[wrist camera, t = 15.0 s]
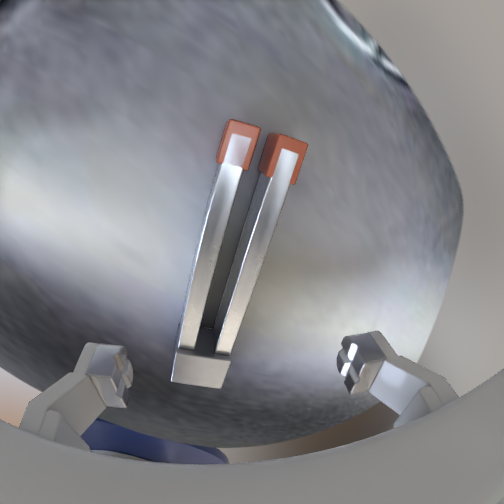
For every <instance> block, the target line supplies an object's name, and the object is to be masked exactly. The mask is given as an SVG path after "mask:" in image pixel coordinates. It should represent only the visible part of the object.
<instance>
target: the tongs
mask: <svg viewBox="0 0 504 504" xmlns="http://www.w3.org/2000/svg"><path fill="white" fill-rule="evenodd" d="M260 131H261V128H260V127H257V126H254V125H251V124H247V123H244V122H240V121H237V120H233V119H230V120H229V121H228V122H227V123H226V126H225V129H224V133H223V136H222V139H221V143H220V146H219V149H218V153H217V156H216V158H217V163H218V167H217V171H216V174H215V178H214V181H213V185H212V189H211V192H210V196H209V200H208V204H207V207H206V211H205V215H204V219H203V223H202V227H201V231H200V235H199V239H198V244H197V248H196V252H195V256H194V261H193V265H192V270H191V274H190V279H189V283H188V288H187V293H186V298H185V302H184V307H183V312H182V318H181V323H179V325H178V331H177V336H176V342H175V348H174V354H173V363H172V373H171V382H176V383H182V384H189V385H196V386H203V387H211V388H222V385H223V382H224V380H225V377H226V375H227V372H228V370H229V367H230V364H231V362H232V358H231V351H232V348H233V346H234V343H235V340H236V337H237V335H238V332H239V329H240V326H241V324H242V321H243V318H244V315H245V313H246V310H247V307H248V304H249V301H250V299H251V296H252V293H253V290H254V287H255V285H256V282H257V279H258V276H259V273H260V271H261V268H262V265H263V262H264V259H265V256H266V253H267V251H268V248H269V245H270V242H271V239H272V236H273V233H274V231H275V228H276V225H277V222H278V219H279V216H280V213H281V210H282V207H283V204H284V201H285V199H286V196H287V193H288V190H289V187H290V184H292V185H294V184H295V183H296V180H297V177H298V174H299V171H300V168H301V165H302V162H303V159H304V156H305V153H306V150H307V147H308V144H307V143H305V142H302V141H300V140H297V139H294V138H291V137H288V136H285V135H282V134H269V135H268V138H267V141H266V144H265V147H264V150H263V154H262V157H261V160H260V163H259V166H258V170H259V171H261V173H260V176H259V179H258V182H257V185H256V189H255V192H254V195H253V198H252V201H251V205H250V208H249V211H248V214H247V217H246V221H245V224H244V227H243V230H242V234H241V237H240V240H239V244H238V247H237V250H236V253H235V257H234V260H233V263H232V267H231V270H230V273H229V277H228V280H227V283H226V287H225V290H224V294H223V297H222V300H221V304H220V307H219V311H218V314H217V317H216V321H215V324H214V328H213V329H211V328H205V327H200V325H201V321H202V317H203V313H204V309H205V305H206V301H207V297H208V293H209V289H210V286H211V282H212V278H213V274H214V271H215V267H216V263H217V260H218V256H219V252H220V249H221V245H222V241H223V238H224V234H225V231H226V227H227V224H228V220H229V217H230V213H231V210H232V206H233V203H234V200H235V196H236V193H237V189H238V186H239V183H240V179H241V176H242V173H243V170H245V171H247V170H248V169H249V166H250V163H251V159H252V156H253V153H254V150H255V147H256V143H257V140H258V137H259V134H260Z"/></svg>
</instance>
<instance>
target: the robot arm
mask: <svg viewBox="0 0 504 504" xmlns="http://www.w3.org/2000/svg"><path fill="white" fill-rule="evenodd" d="M341 344H342V346H343V348H342V349H341V350H340V351H339V352H338V356H337V368H338V371H339V373H340V374H341V375H342V376H344V377H345V381H344V383H345V385H346V387H347V389H348V391H349V393H350V395H351V394H355V393H360V392H364V391H368V392H370V393H371V394H372V395H374V396H375V397H376V398H378V399H379V400H380V401H382V402H383V403H385V404H386V405H387V406H389V407H390V408H391V409H393V410H394V411H395V412H397V413H398V414H399V415H400V416H399V418H398V419H397V420H396V421H395V423H394V425H393V426H394V428H395V429H392V430H390V431H387V432H384V433H381V434H379V435H376V436H373V437H370V438H367V439H364V440H361V441H358V442H354V443H351V444H347V445H343V446H340V447H336V448H332V449H329V450H324V451H320V452H315V453H310V454H305V455H300V456H295V457H289V458H282V459H275V460H268V461H259V462H249V463H235V464H173V463H159V462H151V461H148V460H145V459H142V458H138V457H135V456H131V455H127V454H123V453H118V452H113V451H106V450H90V448H89V446H88V445H87V444H86V442H85V441H84V440H83V439H82V438H81V437H80V436H81V435H82V434H83V433H84V431H85V430H86V429H87V428H88V427H89V426H90V425H91V424H92V423H93V422H94V421H95V419H96V418H97V417H98V416H99V415H100V414H101V413H102V412H103V411H104V410H105V408H106V406H109V407H118V408H127V405H128V400H129V396H130V394H129V392H128V390H127V389H128V388H129V387H130V386H131V385H132V381H133V369H132V365H131V362H130V361H129V360H128V359H126V357H127V354H128V353H127V351H126V348H125V347H124V346H118V345H108V344H97V343H89V342H88V343H87V344H86V345H85V346H84V349H83V351H82V353H81V355H80V358H79V360H78V362H77V364H76V367H75V369H74V371H73V373H68V374H67V375H65V376H64V377H63V378H61V379H60V380H59V381H57V382H56V383H54V384H53V385H52V386H50V387H49V388H48V389H46V390H45V391H44V392H42V393H41V394H39V395H38V396H37V397H35V398H34V399H33V400H31V401H30V402H29V403H28V406H27V408H26V411H25V413H24V416H23V418H22V421H21V423H20V426H19V428H18V427H16V426H13V425H11V424H9V423H6V422H5V421H3V420H0V504H504V369H502V370H501V371H499V372H498V373H497V374H495V375H494V376H492V377H491V378H490V379H488V380H486V381H485V382H484V383H482V384H481V385H479V386H477V387H476V388H474V389H473V390H471V391H469V392H468V393H466V394H464V395H463V396H461V397H458V395H457V394H456V392H455V391H454V390H453V388H452V387H451V386H450V384H449V383H448V382H447V381H446V379H445V378H444V377H443V376H441V375H439V374H437V373H435V372H433V371H431V370H429V369H427V368H425V367H423V366H421V365H419V364H417V363H415V362H413V361H411V360H409V359H407V358H405V357H403V356H398V355H397V354H396V353H395V351H394V350H393V348H392V347H391V346H390V344H389V343H388V342H387V340H386V339H385V337H384V336H383V335H382V333H381V332H379V331H373V332H368V333H363V334H357V335H351V336H345V337H344V338H343V340H342V343H341Z"/></svg>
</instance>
